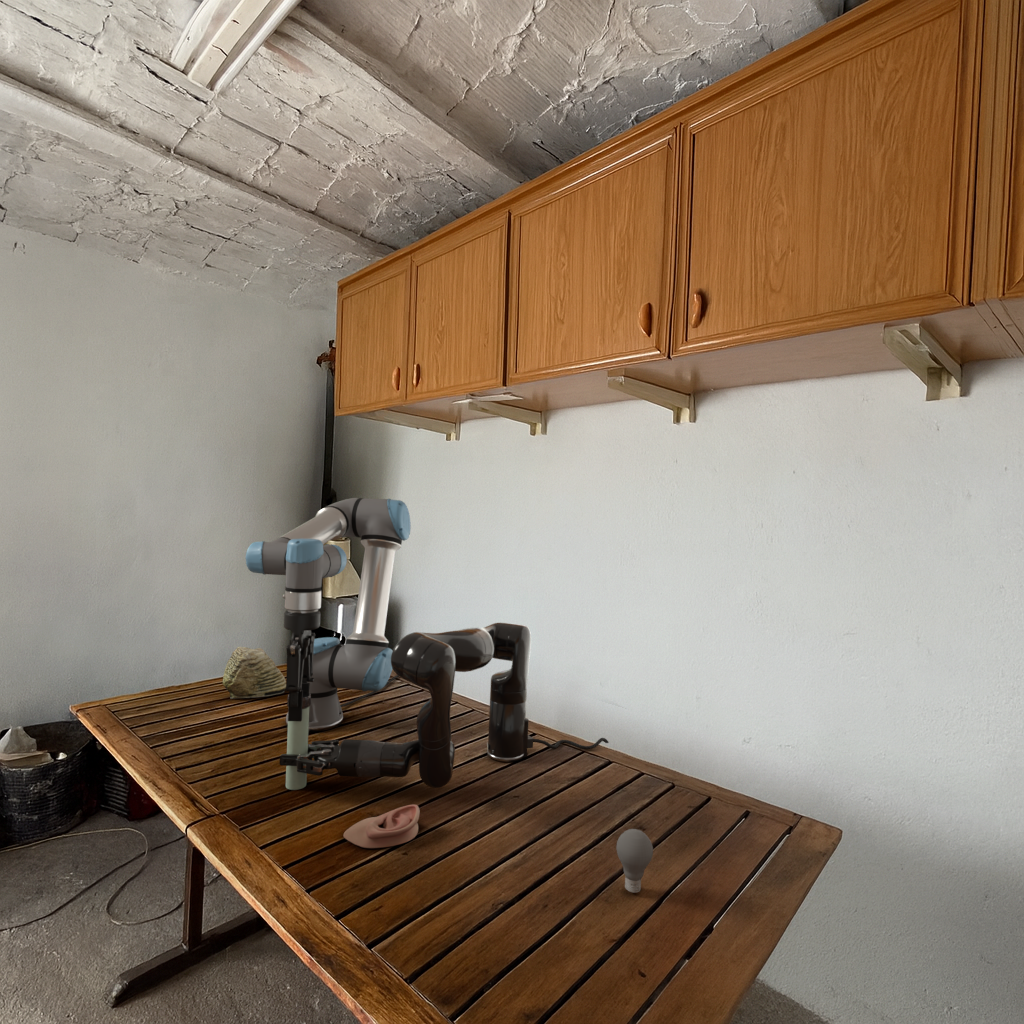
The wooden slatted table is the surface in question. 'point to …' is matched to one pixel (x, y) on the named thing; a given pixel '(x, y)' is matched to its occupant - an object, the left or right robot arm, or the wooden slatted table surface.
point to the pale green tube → (297, 749)
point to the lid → (305, 700)
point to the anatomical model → (385, 828)
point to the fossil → (252, 674)
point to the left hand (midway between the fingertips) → (298, 716)
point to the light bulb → (634, 857)
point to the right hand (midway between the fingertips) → (284, 755)
